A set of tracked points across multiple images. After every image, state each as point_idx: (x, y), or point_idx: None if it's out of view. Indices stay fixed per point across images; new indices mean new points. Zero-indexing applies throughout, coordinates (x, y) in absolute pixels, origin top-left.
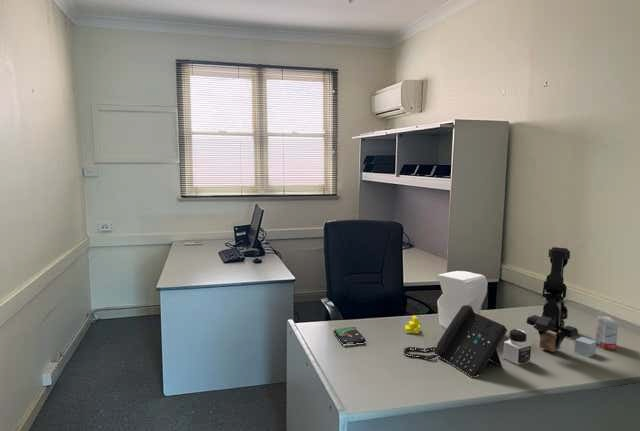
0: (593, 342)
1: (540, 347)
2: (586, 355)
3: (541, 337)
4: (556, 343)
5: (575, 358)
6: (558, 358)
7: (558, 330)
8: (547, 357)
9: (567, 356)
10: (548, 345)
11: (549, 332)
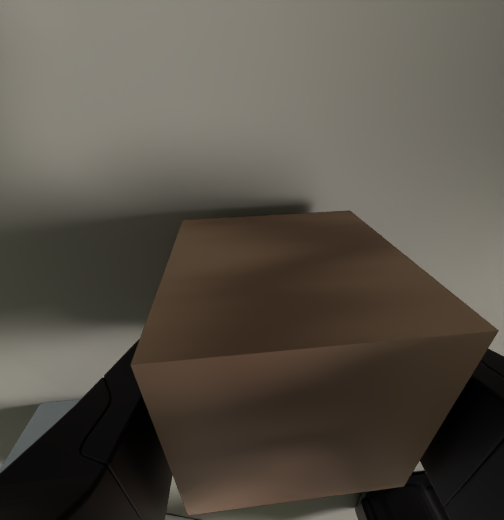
0: None
1: (340, 211)
2: (51, 409)
3: (424, 291)
4: None
5: (36, 317)
6: (76, 169)
7: (371, 494)
8: (147, 54)
9: (95, 295)
10: (247, 245)
11: (379, 488)
